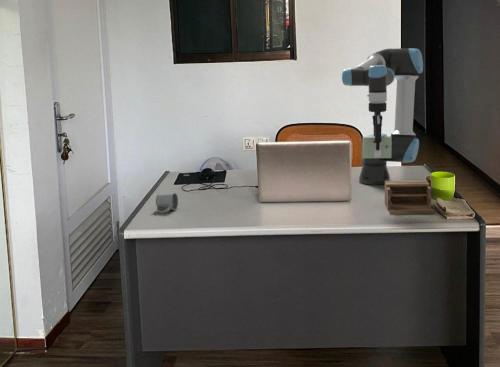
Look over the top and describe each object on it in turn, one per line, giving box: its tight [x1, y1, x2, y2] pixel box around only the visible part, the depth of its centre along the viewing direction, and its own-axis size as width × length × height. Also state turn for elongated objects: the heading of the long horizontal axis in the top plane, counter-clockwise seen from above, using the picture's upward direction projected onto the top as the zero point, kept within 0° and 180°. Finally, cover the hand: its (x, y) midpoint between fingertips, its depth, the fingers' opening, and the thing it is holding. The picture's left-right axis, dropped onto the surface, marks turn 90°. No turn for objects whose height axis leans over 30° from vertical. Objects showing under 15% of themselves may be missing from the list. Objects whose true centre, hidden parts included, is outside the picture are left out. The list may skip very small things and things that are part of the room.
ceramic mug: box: [155, 192, 179, 214], centre depth 337 cm, size 11×8×8 cm
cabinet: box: [384, 179, 435, 215], centre depth 326 cm, size 18×18×10 cm
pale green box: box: [362, 135, 392, 159], centre depth 330 cm, size 4×12×9 cm, turn 85°
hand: (377, 156), depth 331 cm, fingers closed on pale green box, 3 cm apart
